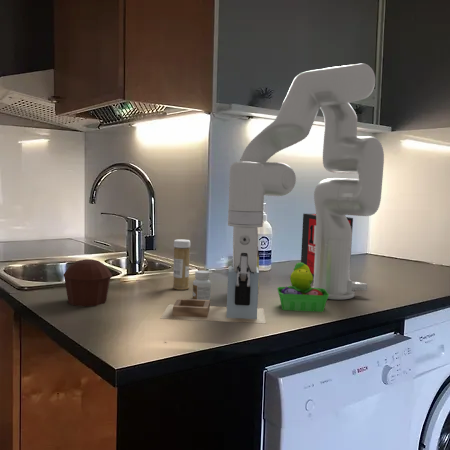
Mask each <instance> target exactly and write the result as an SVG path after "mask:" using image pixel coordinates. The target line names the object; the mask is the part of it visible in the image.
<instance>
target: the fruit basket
mask: <svg viewBox="0 0 450 450" xmlns="http://www.w3.org/2000/svg"><path fill="white" fill-rule="evenodd" d="M289 278H290V284H291V285H288V286H278V287H277V288H276V289H277V293H278V296H279V300H280V305H281V309H282V310H283V311H296V312H297V311H298V312H300V311H301V312H318V313H321V312H322V313H323V312H324V310H325V307H326V303H327V301H328V300H329V299H328V297H329V294H328V293H327V292H326V290H325V289H322V288H312V286H311V285H312V284H313V282H314V279H313V276H312V274H311V272H310V269H309V267H308V266H307V265H305V264H304V263H302V262H301V261H300V262H297V263H296V264H295V265H294V268H293V271H292V272H291V274H290V277H289Z"/></svg>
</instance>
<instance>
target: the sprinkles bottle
mask: <svg viewBox="0 0 450 450" xmlns="http://www.w3.org/2000/svg"><path fill="white" fill-rule="evenodd" d="M190 248H191V240H190V239H184V238H183V239H181V238H179V239H174V240H173V272H172V273H173V275H172V276H173V280H172V281H173V285H172V288H173V289H174V290H178V291H179V290H180V291H185V290H188V289H190V284H189V283H190V281H189V280H190Z"/></svg>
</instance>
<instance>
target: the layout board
mask: <svg viewBox="0 0 450 450" xmlns="http://www.w3.org/2000/svg"><path fill="white" fill-rule="evenodd" d="M226 317H227V306H215V305H211V299H210V300H198V299H193V298H177V299H176V300H175V302H174V304H171V303H170V304H168V305H167V307H166V308H165V310H164V311H163V313H162V314H161V316H160V318H159V319H163V320H184V321H203V322H204V321H206V322H224V323H225V322H226V323H227V322H229V323H251V324H266V323H267V322H266V316H265V310H264V308H262V307H261V308H259V307H257V319H243V318H226Z"/></svg>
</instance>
